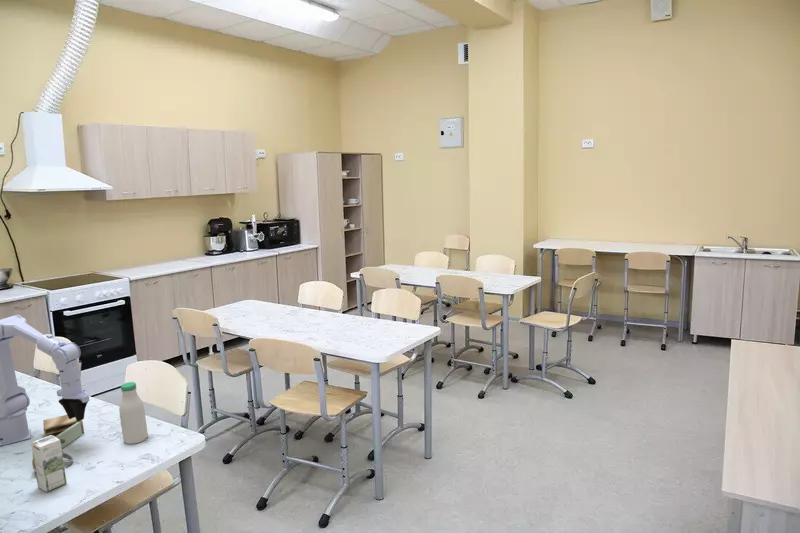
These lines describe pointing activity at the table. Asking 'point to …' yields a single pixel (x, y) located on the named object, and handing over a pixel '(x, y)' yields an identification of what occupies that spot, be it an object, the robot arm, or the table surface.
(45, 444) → the syrup box
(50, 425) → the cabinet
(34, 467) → the ceramic mug
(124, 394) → the milk bottle
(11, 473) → the table surface
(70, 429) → the door
